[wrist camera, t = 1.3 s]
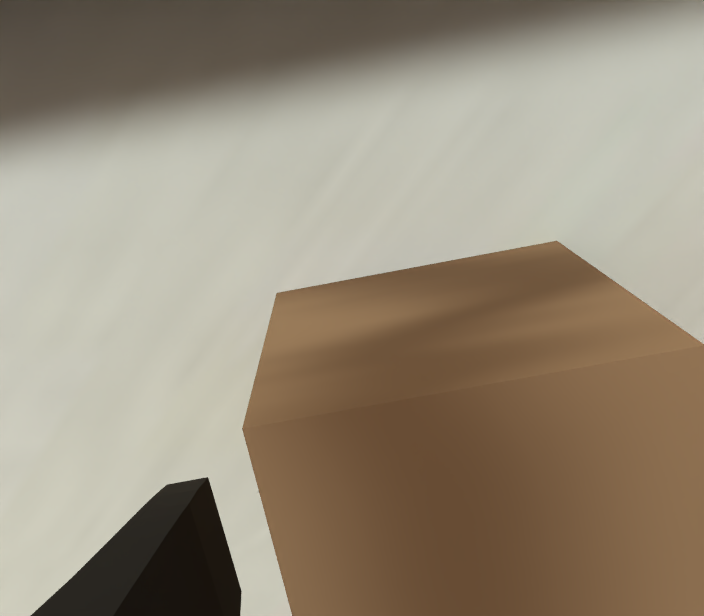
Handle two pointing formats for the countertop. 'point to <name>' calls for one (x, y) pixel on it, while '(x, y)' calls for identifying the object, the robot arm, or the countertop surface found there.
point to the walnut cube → (481, 444)
